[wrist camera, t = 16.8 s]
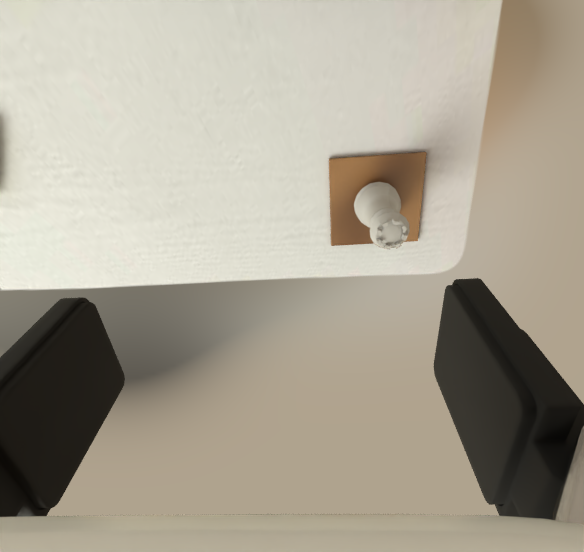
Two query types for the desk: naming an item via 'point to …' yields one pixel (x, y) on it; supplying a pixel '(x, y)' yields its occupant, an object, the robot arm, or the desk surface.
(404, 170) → the coaster
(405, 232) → the rook chess piece
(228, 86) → the desk surface
